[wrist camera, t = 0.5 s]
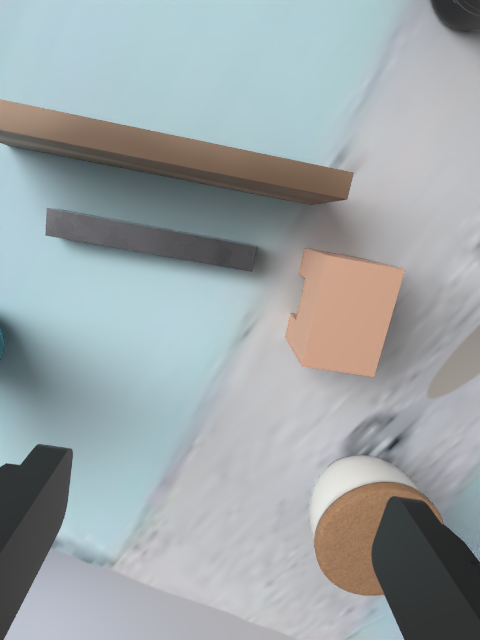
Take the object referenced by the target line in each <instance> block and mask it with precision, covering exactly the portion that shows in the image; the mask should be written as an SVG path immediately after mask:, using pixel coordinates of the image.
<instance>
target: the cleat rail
mask: <svg viewBox="0 0 480 640" xmlns="http://www.w3.org/2000/svg"><path fill="white" fill-rule="evenodd" d="M46 236H52V237H58V238H64V239H69V240H75V241H81V242H86V243H92V244H98V245H103V246H109V247H115V248H121V249H126V250H132V251H138V252H143V253H149V254H155V255H160V256H166V257H172V258H178V259H183V260H189V261H195V262H200V263H206V264H212V265H217V266H223V267H229V268H235V269H240V270H246V271H252V270H253V265H254V259H255V254H256V249H257V246H255V245H252V244H247V243H241V242H236V241H230V240H225V239H219V238H214V237H208V236H203V235H197V234H192V233H186V232H181V231H176V230H170V229H165V228H159V227H154V226H148V225H143V224H137V223H132V222H126V221H121V220H115V219H110V218H104V217H99V216H93V215H88V214H83V213H77V212H72V211H66V210H61V209H50V208H47V217H46Z"/></svg>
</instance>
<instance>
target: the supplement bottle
mask: <svg viewBox="0 0 480 640" xmlns="http://www.w3.org/2000/svg"><path fill="white" fill-rule="evenodd" d="M431 2H432V5H433V7H434V10H435V11H436V13H437V15H438V16H439V17H440V18H441V20H443V21H444V22H445V23H446V24H447V25H449V26H451V27H453V28H455V29H458V30H463V31H473V30H478V29H480V0H431Z"/></svg>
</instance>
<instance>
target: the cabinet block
mask: <svg viewBox="0 0 480 640" xmlns="http://www.w3.org/2000/svg"><path fill="white" fill-rule="evenodd" d="M404 272H405V270H404V269H401V268H397V267H393V266H389V265H386V264H382V263H378V262H375V261H371V260H367V259H362V258H356V257H351V256H346V255H340V254H335V253H329V252H324V251H318V250H313V249H308V248H305V249H304V254H303V258H302V263H301V267H300V272H299V274H300V275H301V276H303V277H304V278H305V283H304V287H303V292H302V296H301V300H300V305H299V309H298V314H293V313H290V317H289V322H288V326H287V331H286V335H285V338H286V339H287V341H288V343H289V345H290V346H291V348H292V350H293V352H294V353H295V355H296V357H297V359H298V361H299V362H300V364H301V366H304V367H311V368H317V369H324V370H330V371H337V372H344V373H350V374H357V375H363V376H370V377H374V376H375V372H376V369H377V365H378V362H379V359H380V355H381V352H382V348H383V345H384V341H385V338H386V334H387V331H388V327H389V324H390V320H391V317H392V313H393V310H394V307H395V303H396V300H397V296H398V293H399V289H400V286H401V282H402V279H403V275H404Z"/></svg>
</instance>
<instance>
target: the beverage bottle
mask: <svg viewBox="0 0 480 640" xmlns="http://www.w3.org/2000/svg"><path fill="white" fill-rule="evenodd" d="M3 351H4V338H3V334H2V332H1V330H0V360H1V357H2V354H3Z"/></svg>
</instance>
